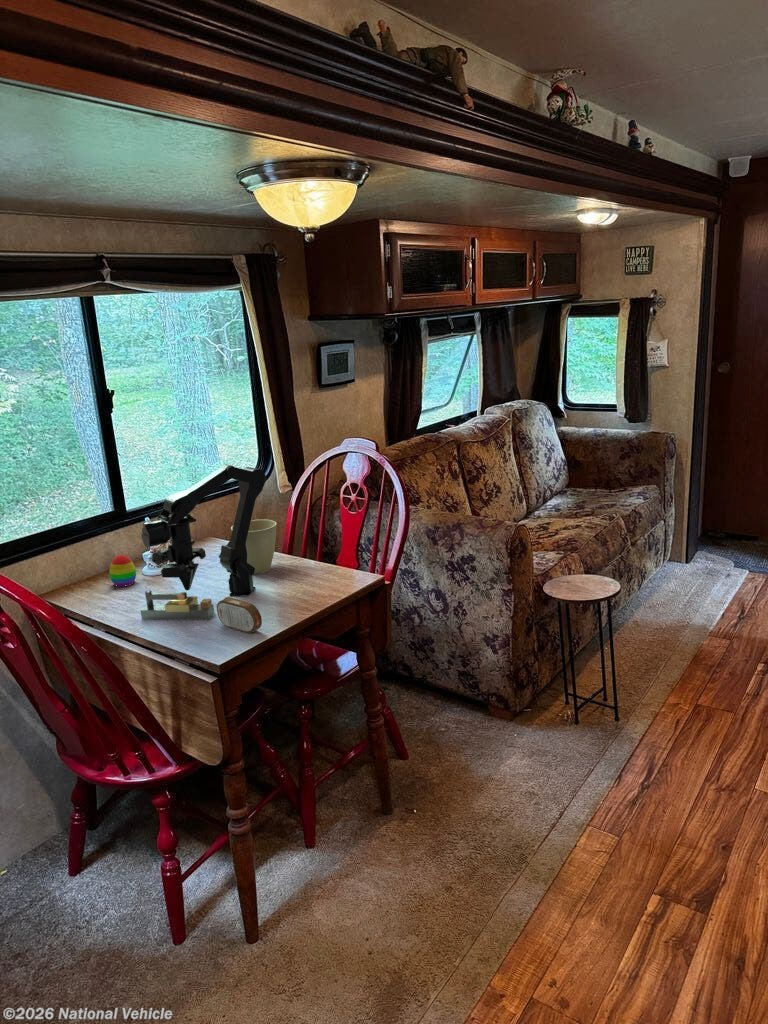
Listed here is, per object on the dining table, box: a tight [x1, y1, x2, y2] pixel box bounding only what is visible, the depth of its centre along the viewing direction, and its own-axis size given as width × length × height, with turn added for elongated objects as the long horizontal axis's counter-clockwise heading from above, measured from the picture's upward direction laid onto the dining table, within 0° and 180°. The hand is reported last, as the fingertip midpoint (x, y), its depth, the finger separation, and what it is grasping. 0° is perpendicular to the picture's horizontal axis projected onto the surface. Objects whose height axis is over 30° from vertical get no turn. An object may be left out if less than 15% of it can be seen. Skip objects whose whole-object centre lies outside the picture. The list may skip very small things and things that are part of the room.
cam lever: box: [144, 590, 188, 608], centre depth 201 cm, size 12×2×5 cm, turn 83°
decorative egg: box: [108, 554, 137, 587], centre depth 231 cm, size 8×8×10 cm
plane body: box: [140, 598, 215, 621], centre depth 202 cm, size 20×4×5 cm, turn 83°
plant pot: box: [230, 519, 278, 575], centre depth 236 cm, size 15×15×16 cm
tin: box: [216, 596, 263, 634], centre depth 191 cm, size 15×3×8 cm, turn 55°
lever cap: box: [164, 595, 199, 612], centre depth 201 cm, size 7×6×2 cm
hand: (187, 589), depth 207 cm, fingers closed
